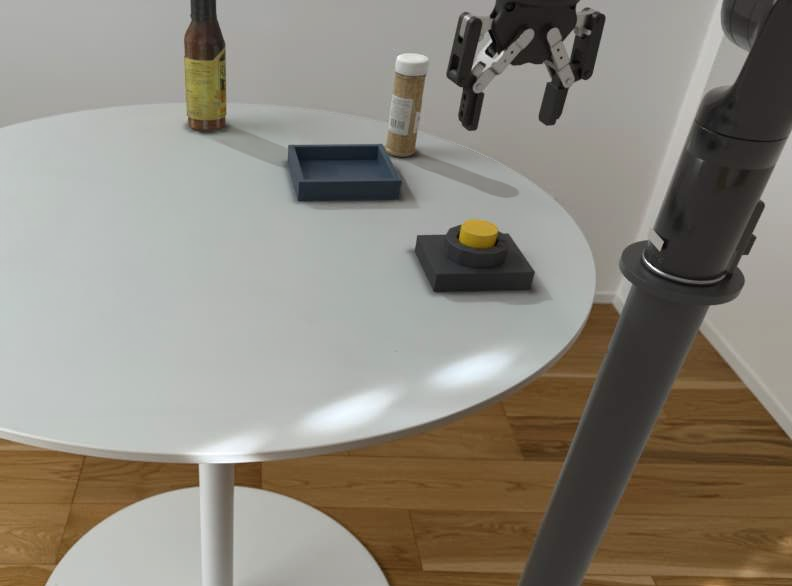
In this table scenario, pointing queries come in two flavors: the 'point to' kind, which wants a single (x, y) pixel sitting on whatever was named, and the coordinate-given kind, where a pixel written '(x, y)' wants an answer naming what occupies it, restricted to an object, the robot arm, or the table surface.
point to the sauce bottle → (205, 68)
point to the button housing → (472, 263)
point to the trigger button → (478, 234)
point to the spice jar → (406, 104)
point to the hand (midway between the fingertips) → (507, 125)
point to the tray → (343, 172)
